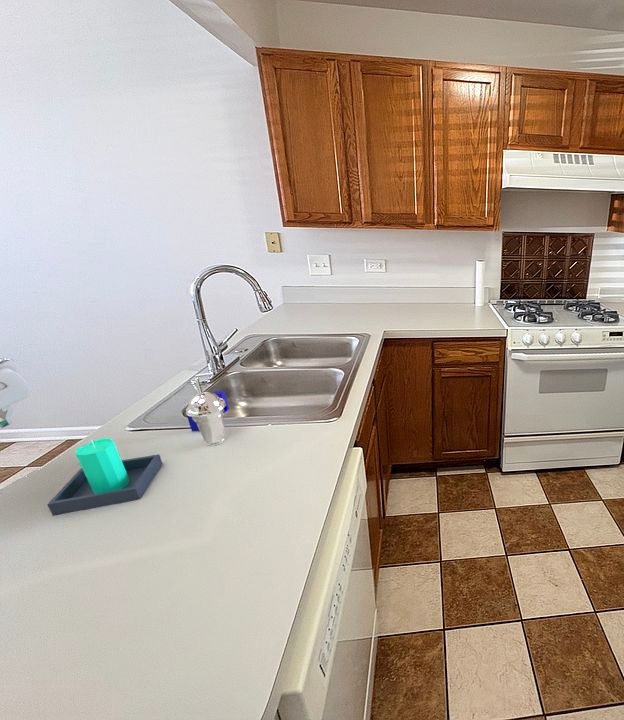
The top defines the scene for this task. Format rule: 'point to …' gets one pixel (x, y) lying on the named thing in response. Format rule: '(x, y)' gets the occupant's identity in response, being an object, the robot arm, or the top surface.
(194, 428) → the cable clip
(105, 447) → the candle
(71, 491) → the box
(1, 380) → the robot arm
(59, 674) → the top surface
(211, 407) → the cup with straw
